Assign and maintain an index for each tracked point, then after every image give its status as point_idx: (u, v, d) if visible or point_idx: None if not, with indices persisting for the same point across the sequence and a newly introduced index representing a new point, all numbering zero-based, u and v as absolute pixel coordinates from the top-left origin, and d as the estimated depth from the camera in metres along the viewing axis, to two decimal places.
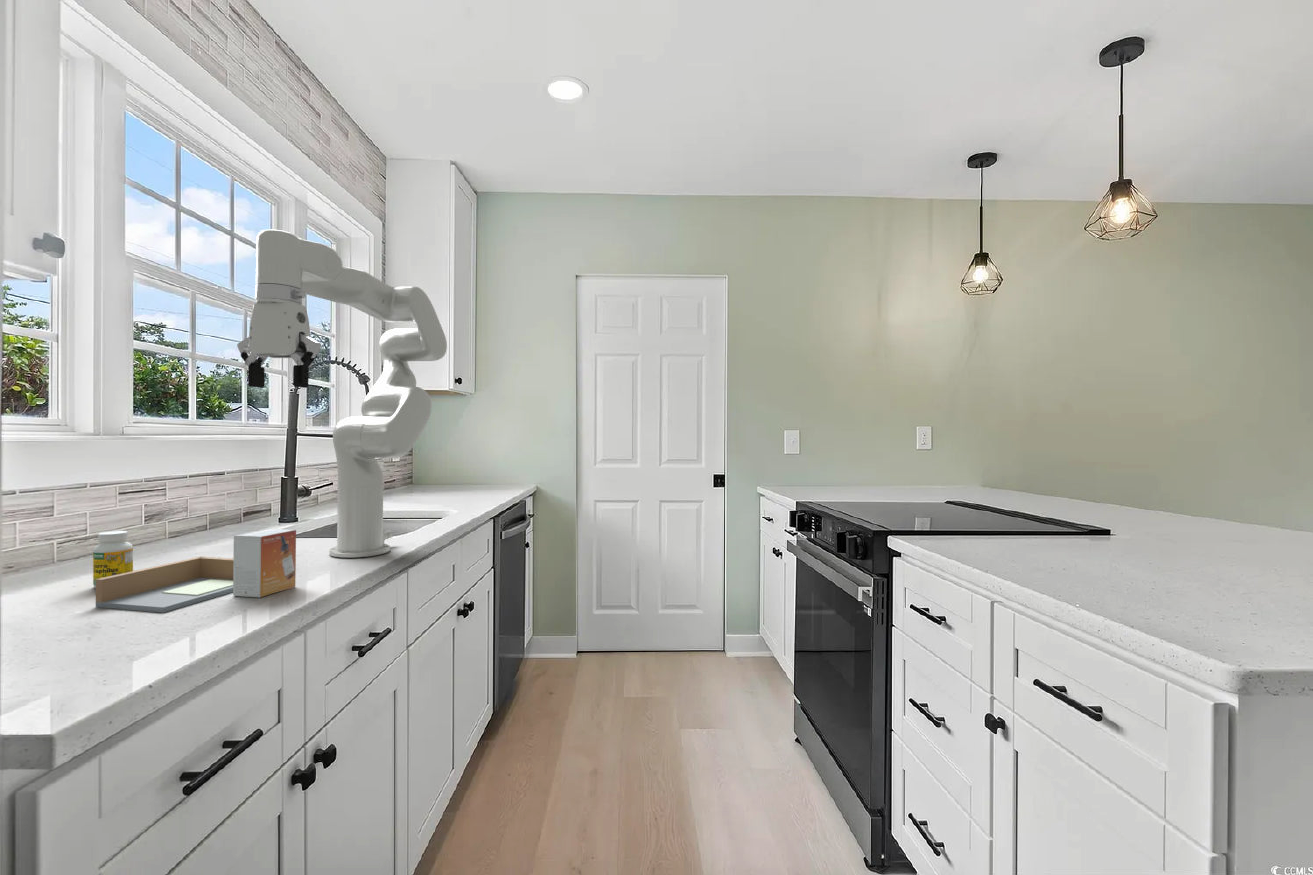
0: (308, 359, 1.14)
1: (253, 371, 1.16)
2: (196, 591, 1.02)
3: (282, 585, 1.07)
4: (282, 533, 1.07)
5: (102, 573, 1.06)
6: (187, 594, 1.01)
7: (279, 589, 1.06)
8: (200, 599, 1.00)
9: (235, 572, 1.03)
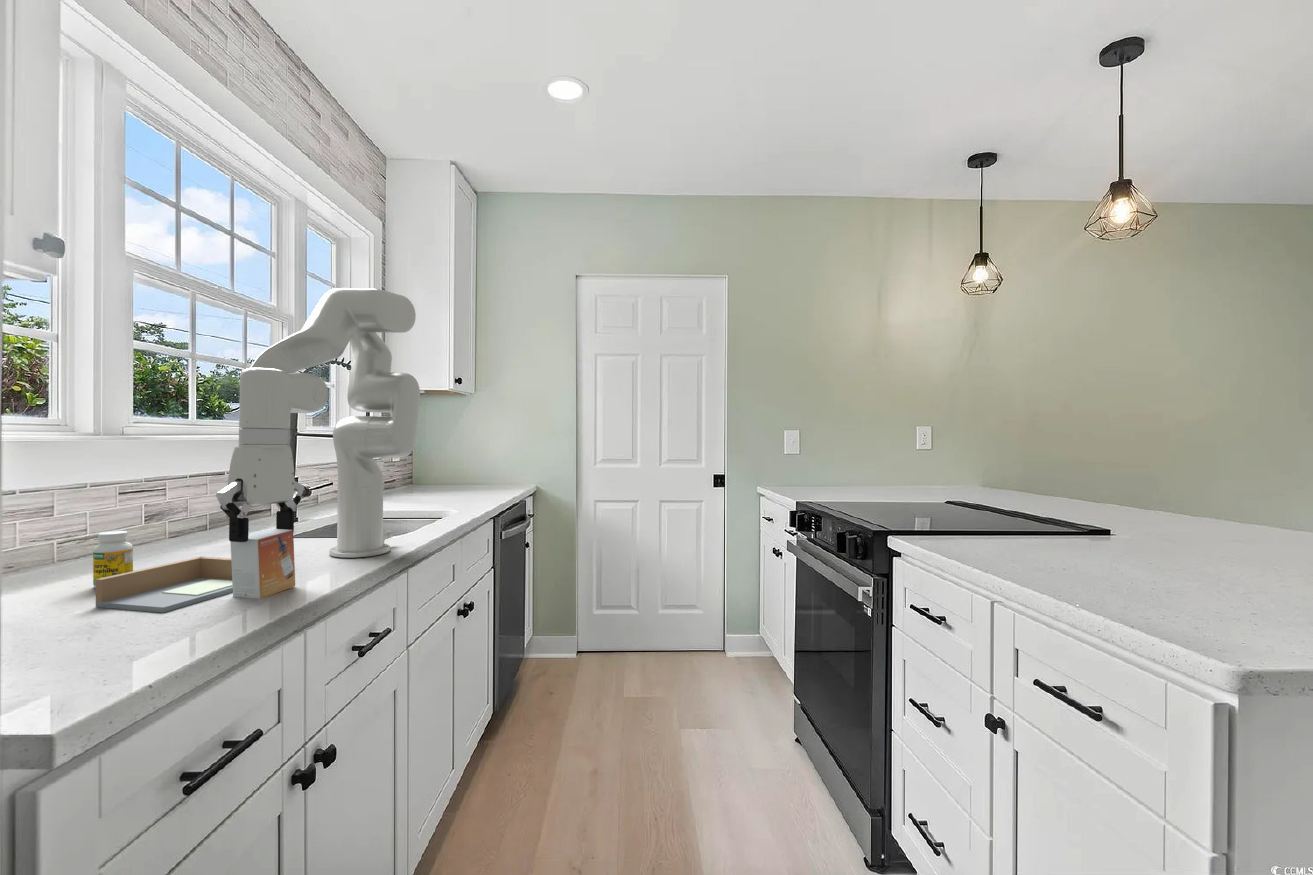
0: None
1: None
2: (196, 591, 1.02)
3: (282, 585, 1.07)
4: (279, 534, 1.06)
5: (102, 573, 1.06)
6: (187, 594, 1.01)
7: (279, 590, 1.06)
8: (200, 599, 1.00)
9: (234, 574, 1.03)
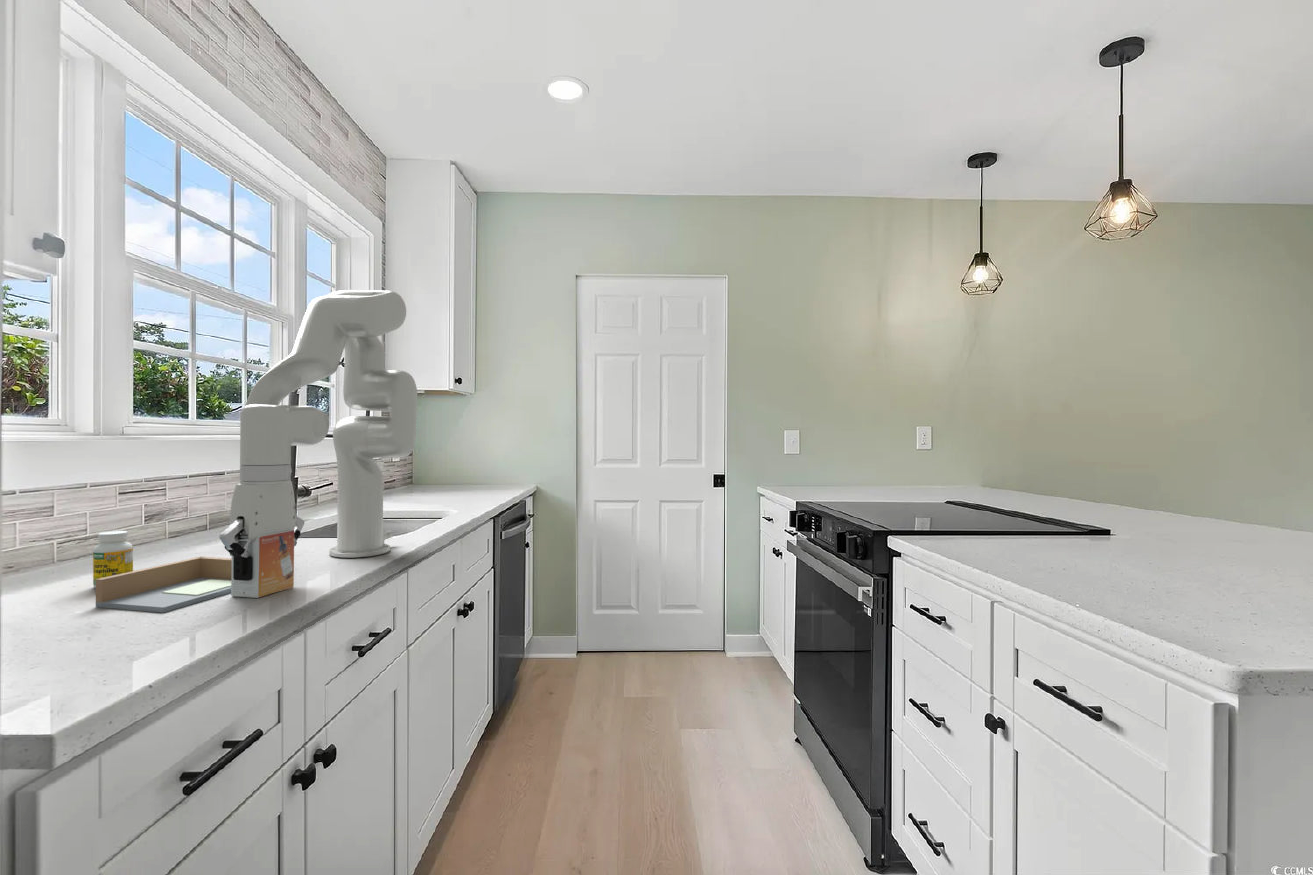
0: None
1: None
2: (196, 591, 1.02)
3: (280, 585, 1.07)
4: (280, 533, 1.06)
5: (102, 573, 1.06)
6: (187, 594, 1.01)
7: (277, 589, 1.06)
8: (200, 599, 1.00)
9: None
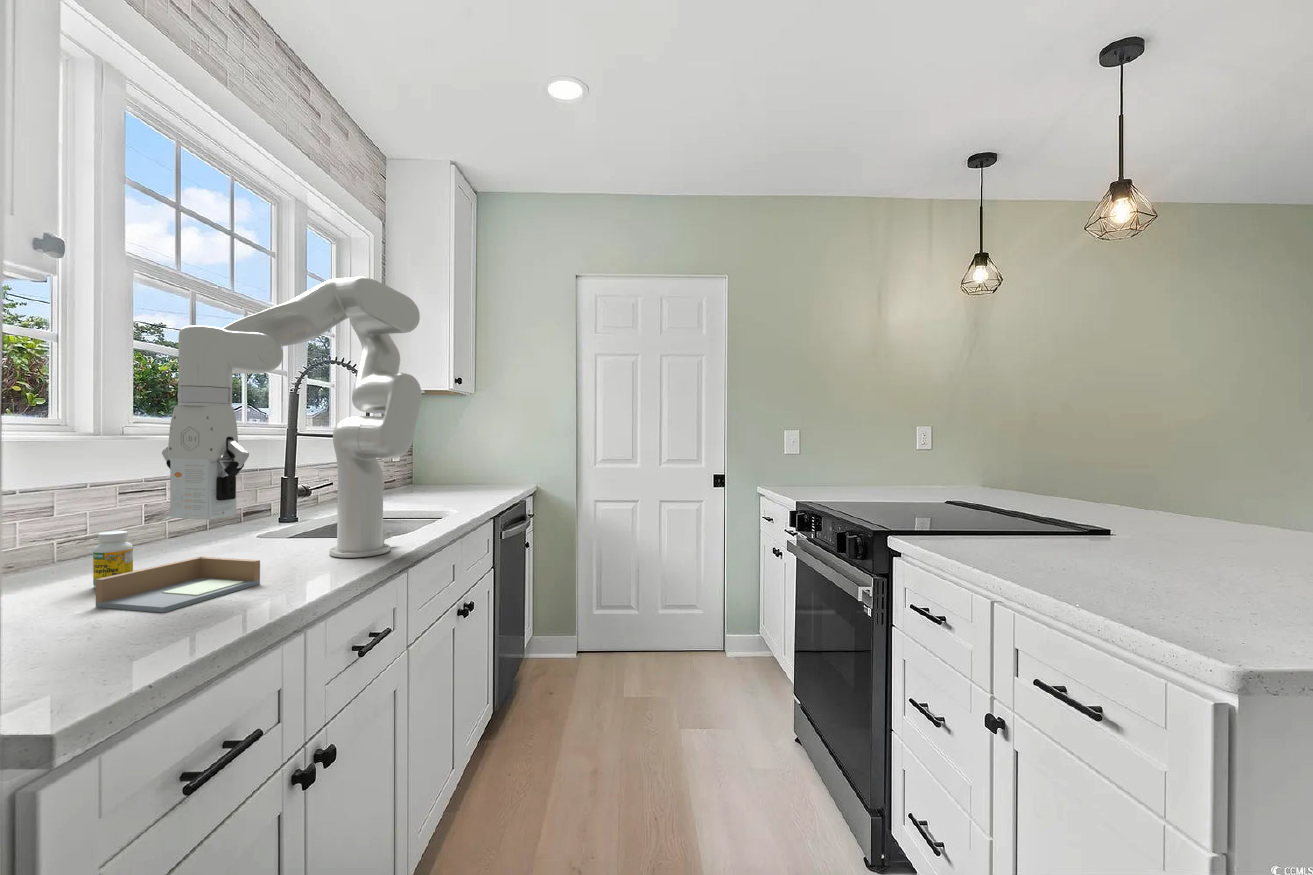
0: None
1: None
2: (196, 591, 1.02)
3: None
4: None
5: (102, 573, 1.06)
6: (187, 594, 1.01)
7: None
8: (200, 599, 1.00)
9: (211, 495, 1.02)
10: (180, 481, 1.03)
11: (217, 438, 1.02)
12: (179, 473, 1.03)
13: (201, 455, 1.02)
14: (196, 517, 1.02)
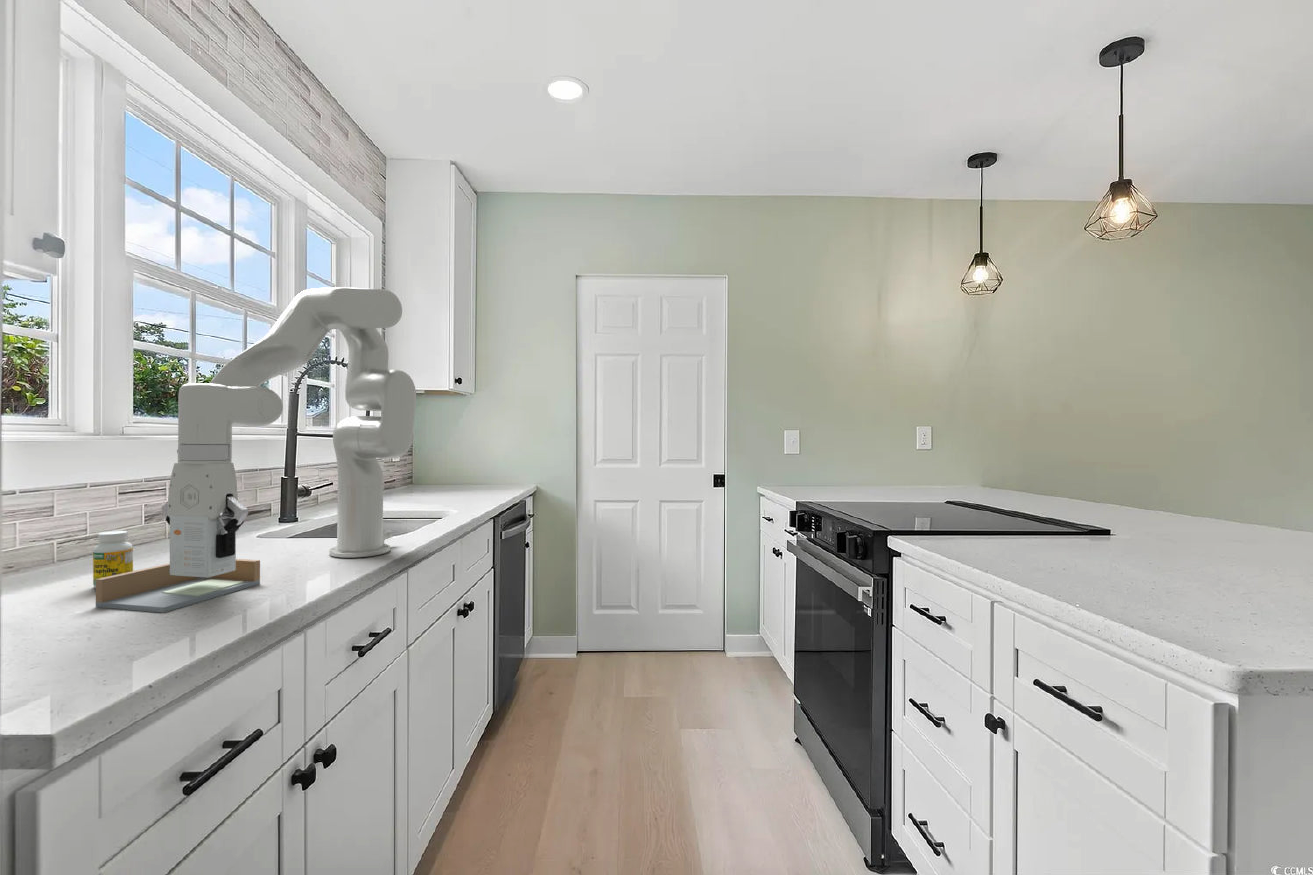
0: None
1: None
2: (196, 591, 1.02)
3: None
4: None
5: (102, 573, 1.06)
6: (187, 594, 1.01)
7: None
8: (200, 599, 1.00)
9: (210, 553, 1.02)
10: (180, 539, 1.03)
11: (217, 496, 1.02)
12: (178, 531, 1.03)
13: (201, 513, 1.02)
14: (195, 575, 1.02)
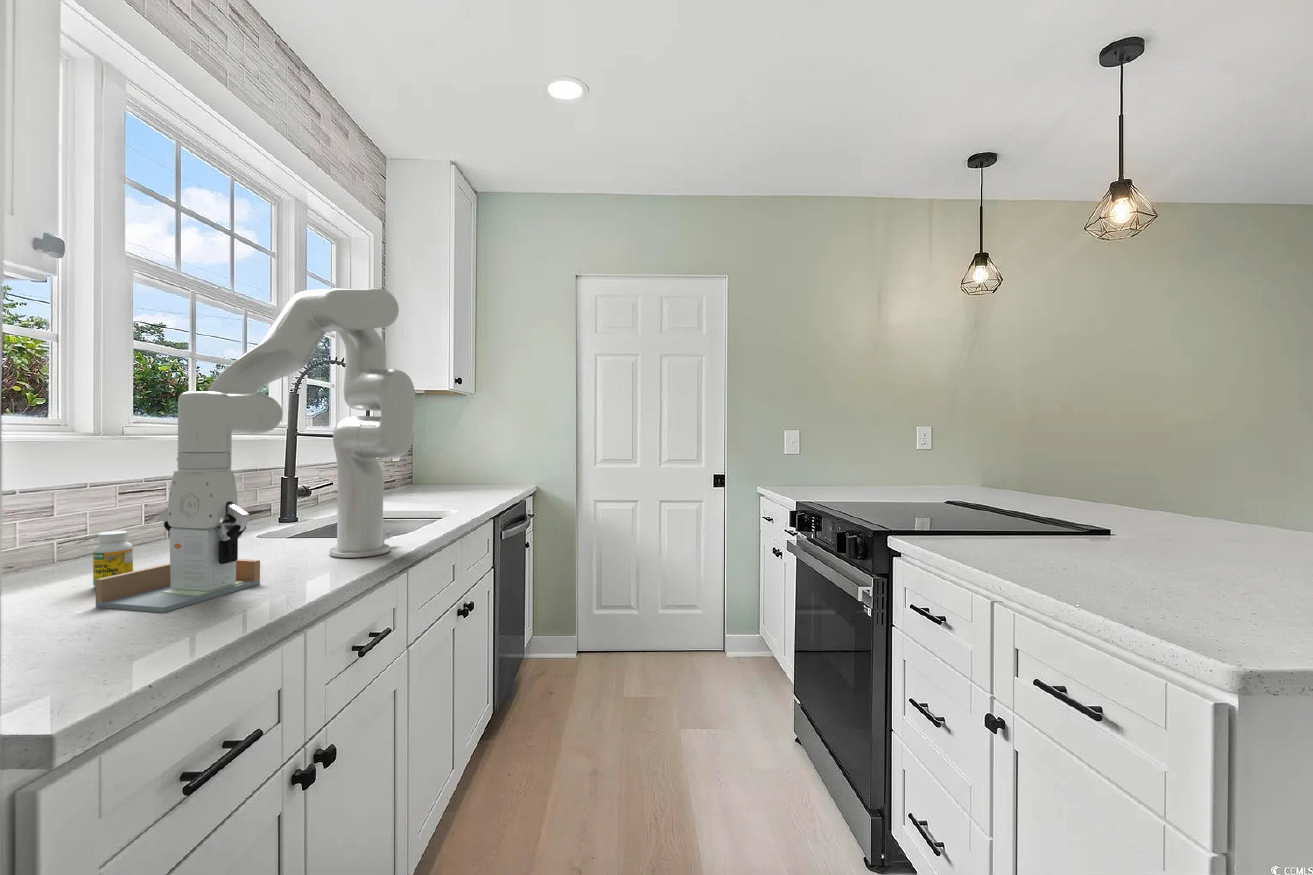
0: None
1: None
2: (196, 591, 1.02)
3: None
4: None
5: (102, 573, 1.06)
6: (187, 594, 1.01)
7: None
8: (200, 599, 1.00)
9: (211, 566, 1.03)
10: (180, 552, 1.03)
11: (217, 504, 1.02)
12: (178, 545, 1.03)
13: (201, 521, 1.02)
14: (196, 588, 1.03)
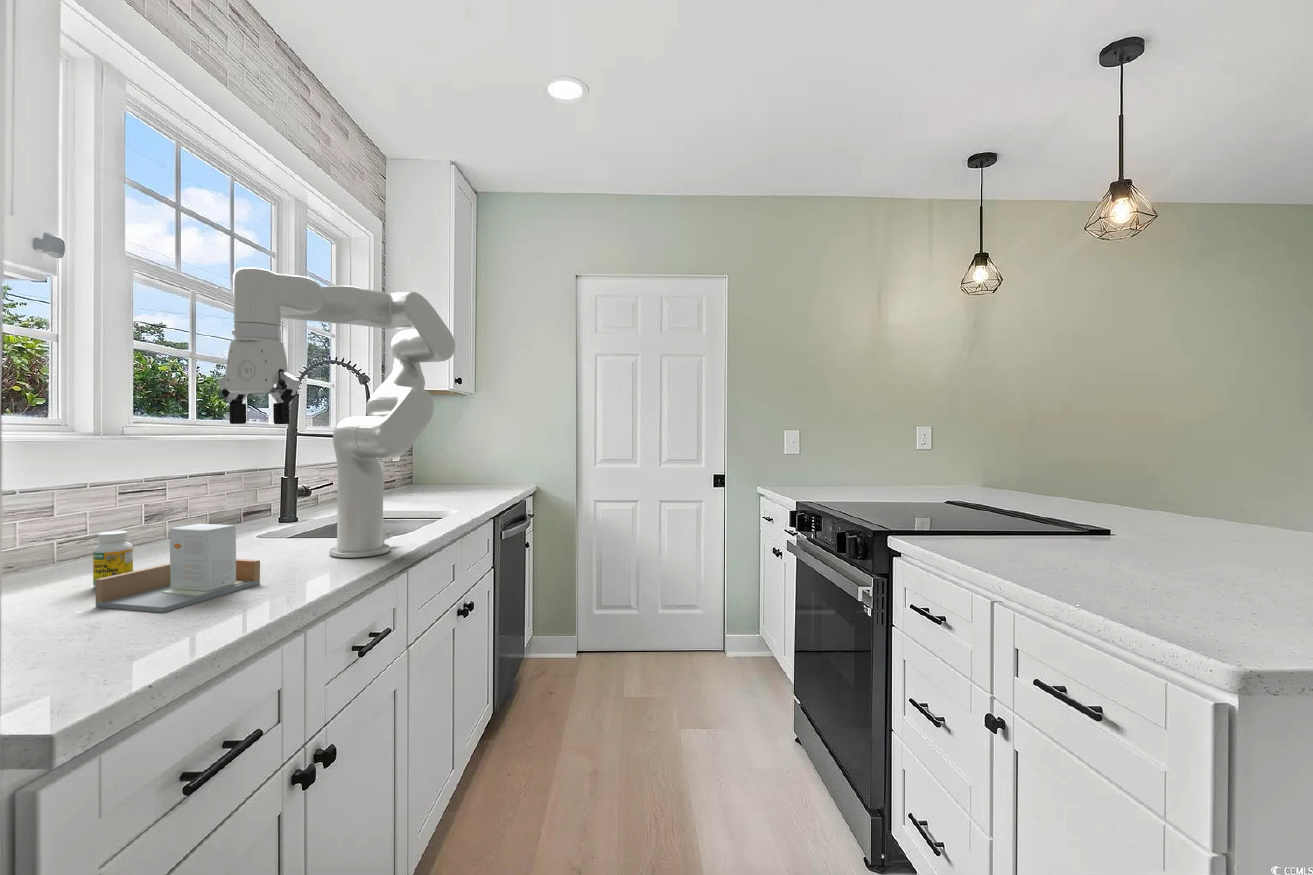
0: None
1: None
2: (196, 591, 1.02)
3: None
4: (213, 525, 1.08)
5: (102, 573, 1.06)
6: (187, 594, 1.01)
7: None
8: (200, 599, 1.00)
9: (211, 566, 1.03)
10: (180, 552, 1.03)
11: (271, 369, 1.13)
12: (178, 545, 1.03)
13: (257, 385, 1.13)
14: (196, 588, 1.03)
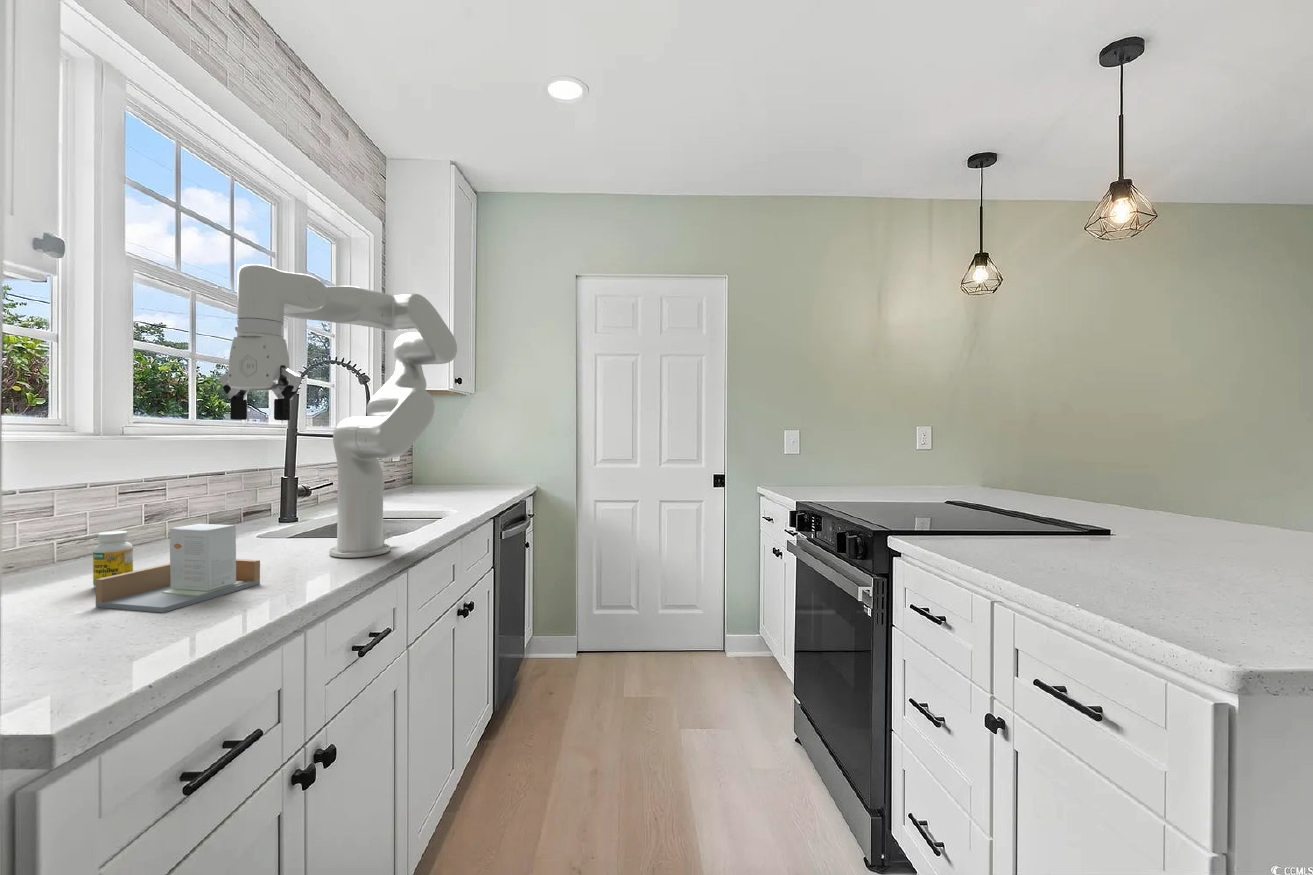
0: None
1: None
2: (196, 591, 1.02)
3: None
4: (213, 525, 1.08)
5: (102, 573, 1.06)
6: (187, 594, 1.01)
7: None
8: (200, 599, 1.00)
9: (211, 566, 1.03)
10: (180, 552, 1.03)
11: (273, 365, 1.14)
12: (178, 545, 1.03)
13: (258, 380, 1.14)
14: (196, 588, 1.03)
